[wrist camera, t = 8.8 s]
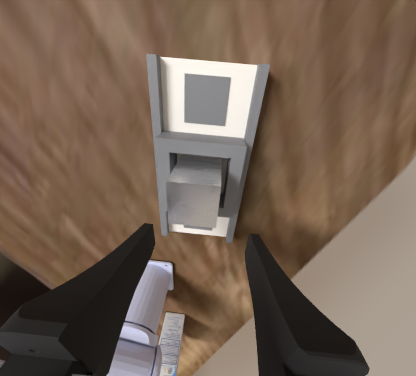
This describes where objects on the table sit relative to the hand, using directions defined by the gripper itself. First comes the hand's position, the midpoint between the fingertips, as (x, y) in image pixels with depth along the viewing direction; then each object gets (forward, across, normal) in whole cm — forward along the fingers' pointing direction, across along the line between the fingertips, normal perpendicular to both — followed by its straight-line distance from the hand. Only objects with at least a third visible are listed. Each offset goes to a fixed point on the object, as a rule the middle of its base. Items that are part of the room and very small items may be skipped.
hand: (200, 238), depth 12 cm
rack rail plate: (+9, +1, -2) cm, 9 cm away
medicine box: (+10, +5, +38) cm, 40 cm away
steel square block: (+8, +1, -2) cm, 9 cm away
